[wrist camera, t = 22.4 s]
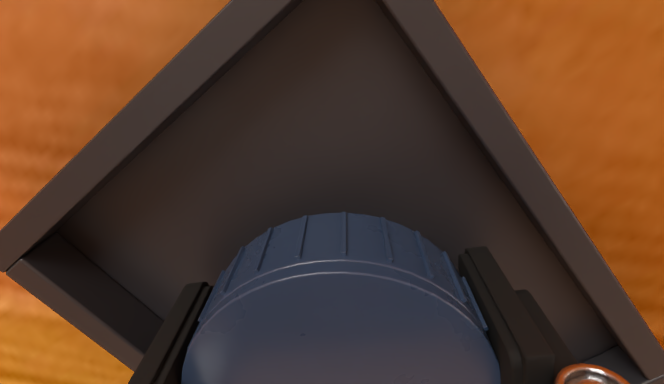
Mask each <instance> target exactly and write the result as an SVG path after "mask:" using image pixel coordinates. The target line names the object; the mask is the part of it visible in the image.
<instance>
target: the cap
mask: <svg viewBox="0 0 664 384" xmlns="http://www.w3.org/2000/svg"><path fill="white" fill-rule="evenodd" d="M198 321H199V322H200V323H199V325H198V327H197V329H196V331H195V333H194V335H193V338H192V340H191V342H190V344H189V346H188V349H187V353H186V357H185V360H184V364H183V368H182V379H181V384H501V377H500V365H499V362H498V360H497V357H496V355H495V352H494V350H493V348H492V345H491V343H490V341H489V339H488V336H487V334H486V332H485V331H487V330H489V329H488V327H487V324H486V322H485V320H484V318H483V316H482V313H481V311H480V309H479V307H478V305H477V302H476V300H475V298H474V296H473V294H472V291H471V289H470V287H469V285H468V283H467V280H466V278H465V277H461V276H460V274H459V272H458V271H457V269H456V268H455V266H454V264H453V263H452V262H451V261H450V258H449V256H448V254H447V253H446V252H445V251H444V252H442V251H441V250H440V249H439V248H438V247H436V246H435V245H434V244H433V243H432V242H431V241H429V240H428V239H426V238H425V237H423V236H422V235H421V234H420V232H419V231H417V230H416V231H413V230H411V229H409V228H407V227H405V226H403V225H401V224H398V223H395V222H392V221H389V220H386V219H385V218H384V217H381V218H380V217H375V216H370V215H365V214H355V213H346V212H342V213H324V214H317V215H311V216H307V215H305V216H303V217H302V218H298V219H295V220H291V221H288V222H286V223H283V224H281V225H279V226H276V227H274V228H272V227H270V228H268V231H267V232H265V233H263V234H262V235H260V236H258V237H257V238H256V239H254V240H253V241H252V242H250V243H249V244H248V245H247V246H245V247H244V246H242V247H241V248H240V250H239V252H238V254H237V256H236V257H235V258H234V259H233V261H232V262H231V263H230V265H229V266H228V268H227V269H226V271H224V270H222V272H221V274H220V276H219V278H218V280H217V282H216V284H215V286H214V288H213V290H212V292H211V294H210V296H209V298H208V300H207V302H206V304H205V307H204V309H203V311H202V313H201V315H200V317H199V319H198Z"/></svg>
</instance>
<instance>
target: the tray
mask: <svg viewBox="0 0 664 384" xmlns="http://www.w3.org/2000/svg"><path fill="white" fill-rule="evenodd" d="M342 212H346V213H355V214H365V215H370V216H375V217H380V218H381V217H384V218H385V219H386V220H389V221H392V222H395V223H398V224H401V225H403V226H405V227H407V228H409V229H411V230H413V231H416V230H417V231H419V232H420V234H421V235H422V236H423V237H425V238H426V239H428V240H429V241H431V242H432V243H433V244H434V245H435V246H436V247H438V248H439V249H440V250H441V251H442V252H444V251H445V252H446V253H447V254H448V256H449V258H450V261H451V262H452V263H453V264H454V266H455V268H456V269H457V271H458V272H459V265H458V255H459V254H464V252H465V249H466V248H473V247H481V246H486V247H487V248H488V249H489V251H490V252H491V254H492V256H493V257H494V259H495V260H496V262H497V264H498V265H499V267H500V268H501V270H502V272H503V273H504V275H505V276H506V278H507V280H508V281H509V283H510V284H511V286H512V288H513V289H514V290H523V289H526V290H528V291H529V292H530V293H531V295H532V296H533V298H534V299H535V300H536V302H537V303H538V305H539V306H540V308H541V309H542V311H543V312H544V314H545V315H546V317H547V318H548V320H549V321H550V323H551V324H552V326H553V327H554V328H555V330H556V331H557V333H558V334H559V336H560V337H561V339H562V340H563V342H564V343H565V345H566V346H567V348H568V349H569V351H570V352H571V353H572V355H573V356H574V358H575V359H576V361H577V362H578V364H581V363H584V364H592V365H597V366H600V367H603V368H607V369H609V370H611V371H613V372H615V373H617V374H618V375H620V376H622V377H623V378H624V379H625V380H626V381H628V382H629V383H630V384H664V350H663V349H662V347H661V346H660V344H659V342H658V341H657V339H656V338H655V336H654V335H653V333H652V332H651V330H650V329H649V327H648V326H647V324H646V323H645V321H644V320H643V318H642V317H641V315H640V314H639V312H638V311H637V309H636V307H635V306H634V304H633V303H632V301H631V300H630V298H629V297H628V295H627V294H626V292H625V291H624V289H623V288H622V286H621V285H620V283H619V282H618V280H617V279H616V277H615V276H614V274H613V272H612V271H611V269H610V268H609V266H608V265H607V263H606V262H605V260H604V259H603V257H602V256H601V254H600V253H599V251H598V250H597V248H596V247H595V245H594V244H593V242H592V241H591V239H590V237H589V236H588V234H587V233H586V231H585V230H584V228H583V227H582V225H581V224H580V222H579V221H578V219H577V218H576V216H575V215H574V213H573V212H572V210H571V209H570V207H569V205H568V204H567V202H566V201H565V199H564V198H563V196H562V195H561V193H560V192H559V190H558V189H557V187H556V186H555V184H554V183H553V181H552V180H551V178H550V177H549V175H548V174H547V172H546V170H545V169H544V167H543V166H542V164H541V163H540V161H539V160H538V158H537V157H536V155H535V154H534V152H533V151H532V149H531V148H530V146H529V145H528V143H527V142H526V140H525V139H524V137H523V135H522V134H521V132H520V131H519V129H518V128H517V126H516V125H515V123H514V122H513V120H512V119H511V117H510V116H509V114H508V113H507V111H506V110H505V108H504V107H503V105H502V104H501V102H500V100H499V99H498V97H497V96H496V94H495V93H494V91H493V90H492V88H491V87H490V85H489V84H488V82H487V81H486V79H485V78H484V76H483V75H482V73H481V72H480V70H479V69H478V67H477V65H476V64H475V62H474V61H473V59H472V58H471V56H470V55H469V53H468V52H467V50H466V49H465V47H464V46H463V44H462V43H461V41H460V40H459V38H458V37H457V35H456V34H455V32H454V30H453V29H452V27H451V26H450V24H449V23H448V21H447V20H446V18H445V17H444V15H443V14H442V12H441V11H440V9H439V8H438V6H437V5H436V3H435V2H434V0H231V1H230V2H229V3H228V4H227V5H226V6H225V7H224V8H223V9H222V10H221V11H220V12H219V13H218V14H217V15H216V16H215V17H214V18H213V19H212V20H211V21H210V22H209V23H208V24H207V25H206V26H205V27H204V28H203V29H202V30H201V31H200V32H199V33H198V34H197V35H196V36H195V37H194V38H193V39H192V40H191V41H190V42H189V43H188V44H187V45H186V46H185V47H184V48H183V49H182V50H181V51H180V52H179V53H178V54H177V55H176V56H175V57H174V58H173V59H172V60H171V61H170V62H169V63H168V64H167V65H166V66H165V67H164V68H163V69H162V70H161V71H160V72H159V73H158V74H157V75H156V76H155V77H154V78H153V79H152V80H151V81H150V82H149V83H148V84H147V85H146V86H145V87H144V88H143V89H142V90H141V91H140V92H139V93H138V94H137V95H136V96H135V97H134V98H133V99H132V100H131V101H130V102H129V103H128V104H127V105H126V106H125V107H124V108H123V109H122V110H121V111H120V112H119V113H118V114H117V115H116V116H115V117H114V118H113V119H112V120H111V121H109V122H108V123H107V124H106V125H105V126H104V127H103V128H102V129H101V130H100V131H99V132H98V133H97V134H96V135H95V136H94V137H93V138H92V139H91V140H90V141H89V142H88V143H87V144H86V145H85V146H84V147H83V148H82V149H81V150H80V151H79V152H78V153H77V154H76V155H75V156H74V157H73V158H72V159H71V160H70V161H69V162H68V163H67V164H66V165H65V166H64V167H63V168H62V169H61V170H60V171H59V172H58V173H57V174H56V175H55V176H54V177H53V178H52V179H51V180H50V181H49V182H48V183H47V184H46V185H45V186H44V187H43V188H42V189H41V190H40V191H39V192H38V193H37V194H36V195H35V196H34V197H33V198H32V199H31V200H30V201H29V202H28V203H27V204H26V205H25V206H24V207H23V208H22V209H21V210H20V211H19V212H18V213H17V214H16V215H15V216H14V217H13V218H12V219H11V220H10V221H9V222H8V223H7V224H6V225H5V226H4V227H3V228H2V229H1V230H0V271H1V272H6V271H7V272H6V275H7V276H9V277H10V278H11V279H13V280H14V281H15V282H17V283H18V284H19V285H21V286H22V287H23V288H24V289H26V290H27V291H28V292H30V293H31V294H32V295H34V296H35V297H36V298H38V299H39V300H40V301H42V302H43V303H44V304H46V305H47V306H48V307H50V308H51V309H52V310H53V311H55V312H56V313H57V314H59V315H60V316H61V317H63V318H64V319H65V320H67V321H68V322H69V323H71V324H72V325H73V326H75V327H76V328H77V329H79V330H80V331H81V332H82V333H84V334H85V335H86V336H88V337H89V338H90V339H92V340H93V341H94V342H96V343H97V344H98V345H100V346H101V347H102V348H104V349H105V350H106V351H108V352H109V353H110V354H111V355H113V356H114V357H115V358H117V359H118V360H119V361H121V362H122V363H123V364H125V365H126V366H127V367H129V368H130V369H131V370H133V371H134V372H135V371H136V369H137V367H138V365H139V364H140V362H141V360H142V359H143V357H144V355H145V353H146V352H147V350H148V348H149V346H150V345H151V343H152V341H153V340H154V338H155V336H156V334H157V333H158V331H159V329H160V328H161V326H162V324H163V322H164V321H165V319H166V317H167V316H168V314H169V312H170V310H171V309H172V307H173V305H174V304H175V302H176V300H177V298H178V297H179V295H180V293H181V291H182V290H183V288H184V286H185V285H186V284H189V283H197V282H207V283H208V284H209V286H215V284H216V282H217V280H218V278H219V276H220V274H221V272H222V270H224V271H226V269H227V268H228V266H229V265H230V263H231V262H232V261H233V259H234V258H235V257H236V256H237V254H238V252H239V250H240V248H241V247H242V246H244V247H245V246H247V245H248V244H249V243H250V242H252V241H253V240H254V239H256V238H257V237H258V236H260V235H262V234H263V233H265V232H267V231H268V228H270V227H272V228H274V227H276V226H279V225H281V224H283V223H286V222H288V221H291V220H295V219H298V218H302V217H303V216H305V215H307V216H311V215H317V214H324V213H342Z"/></svg>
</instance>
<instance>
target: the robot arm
mask: <svg viewBox="0 0 664 384" xmlns="http://www.w3.org/2000/svg"><path fill="white" fill-rule="evenodd" d="M458 265H459V274H460V276H461V277H465V278H466V280H467V283H468V285H469V287H470V289H471V291H472V294H473V296H474V298H475V300H476V302H477V305H478V307H479V309H480V311H481V313H482V316H483V318H484V320H485V322H486V324H487V327H488V329H489V330H487V331H485V332H486V334H487V336H488V339H489V341H490V343H491V345H492V348H493V350H494V352H495V355H496V357H497V360H498V362H499V365H500V377H501V384H630V383H629V382H628V381H626V380H625V379H624V378H623V377H622V376H620V375H618V374H617V373H615V372H613V371H611V370H609V369H607V368H603V367H600V366H597V365H592V364H584V363H581V364H578V362H577V361H576V359H575V358H574V356H573V355H572V353H571V352H570V351H569V349H568V348H567V346H566V345H565V343H564V342H563V340H562V339H561V337H560V336H559V334H558V333H557V331H556V330H555V328H554V327H553V326H552V324H551V323H550V321H549V320H548V318H547V317H546V315H545V314H544V312H543V311H542V309H541V308H540V306H539V305H538V303H537V302H536V300H535V299H534V298H533V296H532V295H531V293H530V292H529V291H528V290H526V289H523V290H514V289H513V288H512V286H511V284H510V283H509V281H508V280H507V278H506V276H505V275H504V273H503V272H502V270H501V268H500V267H499V265H498V264H497V262H496V260H495V259H494V257H493V256H492V254H491V252H490V251H489V249H488V248H487V247H486V246H481V247H473V248H466V249H465V252H464V254H459V255H458ZM213 288H214V286H209V284H208V283H207V282H197V283H189V284H186V285H185V286H184V288H183V290H182V291H181V293H180V295H179V297H178V298H177V300H176V302H175V304H174V305H173V307H172V309H171V310H170V312H169V314H168V316H167V317H166V319H165V321H164V322H163V324H162V326H161V328H160V329H159V331H158V333H157V334H156V336H155V338H154V340H153V341H152V343H151V345H150V346H149V348H148V350H147V352H146V353H145V355H144V357H143V359H142V360H141V362H140V364H139V365H138V367H137V369H136V371H135V372H134V374H133V376H132V377H131V379H130V381H129V383H128V384H181V379H182V368H183V364H184V360H185V357H186V353H187V349H188V346H189V344H190V342H191V340H192V338H193V335H194V333H195V331H196V329H197V327H198V325H199V323H200V322H199V321H198V319H199V317H200V315H201V313H202V311H203V309H204V307H205V304H206V302H207V300H208V298H209V296H210V294H211V292H212V290H213Z"/></svg>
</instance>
